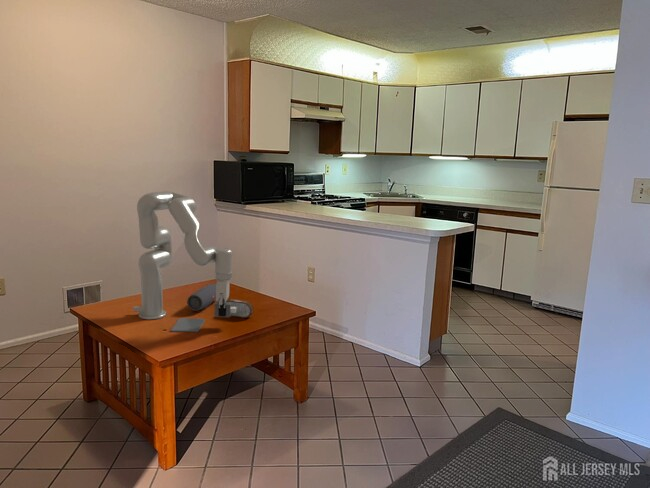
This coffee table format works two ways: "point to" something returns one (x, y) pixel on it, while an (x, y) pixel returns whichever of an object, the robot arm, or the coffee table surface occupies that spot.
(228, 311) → the block
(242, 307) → the tin
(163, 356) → the coffee table surface
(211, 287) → the bluetooth speaker
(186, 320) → the slate board
